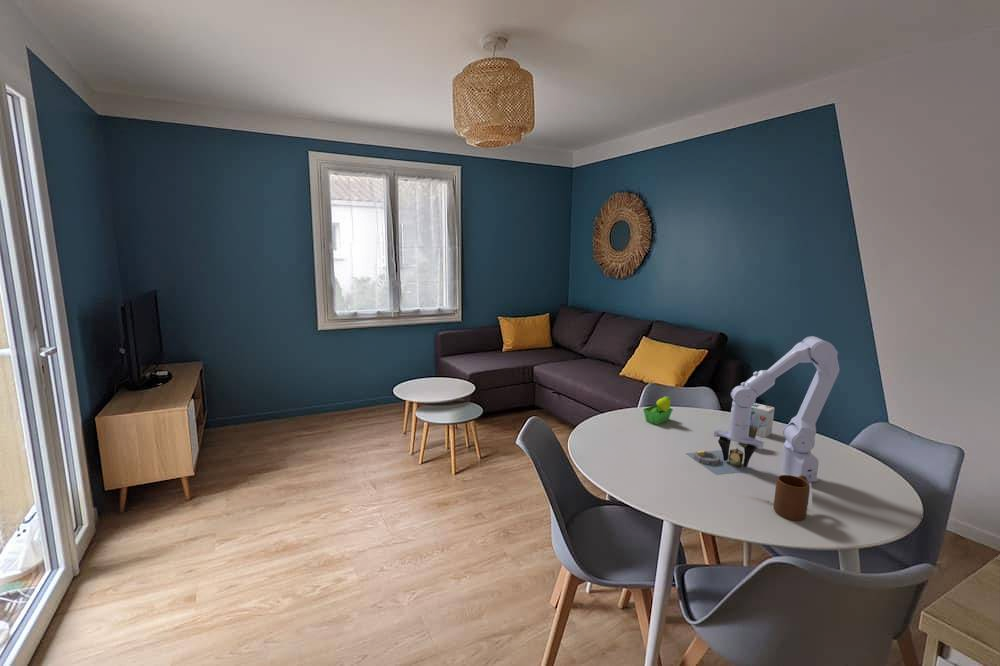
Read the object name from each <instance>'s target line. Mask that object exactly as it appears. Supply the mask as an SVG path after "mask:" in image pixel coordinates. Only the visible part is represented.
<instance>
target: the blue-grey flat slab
mask: <svg viewBox="0 0 1000 666" xmlns="http://www.w3.org/2000/svg"><path fill="white" fill-rule="evenodd" d="M685 455H687V456H688V457H690V458H691V459H693V460H694V461H695V462H696V463H698V464H700V465H701V466H703V467H704V468H706V469H707V470H708V471H710V472H711V473H712V474H714V475H715V476H718V475H719V476H720V475H729V474H739V473H747V472H754V471H755V470H754V469H753V468H751V467H749V466H747V467H743V463H744V462H743V463H742V467H733V466H731V465H729V457H728V460H727V461H724V458H723V453H722V449H721V450H711V451H710V450H709V451H707V450H697V451H694V452H686V453H685Z"/></svg>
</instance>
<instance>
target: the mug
mask: <svg viewBox="0 0 1000 666" xmlns="http://www.w3.org/2000/svg"><path fill="white" fill-rule="evenodd" d="M776 479H777V480H776V485H775V492H774V500H773V510H774V512H775V513H776V514H777V515H779V516H781V518H784V519H787V520H791V521H802V520H804V519H806V517H807V514H808V513H807V511H808V504H809V498H810V489H811V488H810V486H811V485H810V482H808V480H807V478H806V477H805V476H803V475H800V476H799V477H796V476H791V475H788V474H783V475H782V474H781V475H778V477H777V478H776Z"/></svg>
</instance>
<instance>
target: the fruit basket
mask: <svg viewBox="0 0 1000 666" xmlns="http://www.w3.org/2000/svg"><path fill="white" fill-rule="evenodd" d="M671 403H672V402H671V397H670V396H663V397H662V398H659V399H658V400H657V401H656V403H655V405H651V406H648V407H645V408H643V409H642V412H643V413H644V418H645V421H646V422H648V421H649V423H651V424H654V423H655V425H659V424H661V423H664V421H665V422H667V421H669V419H670V417H671V415H672V412H673V410H674V408H671Z"/></svg>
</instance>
